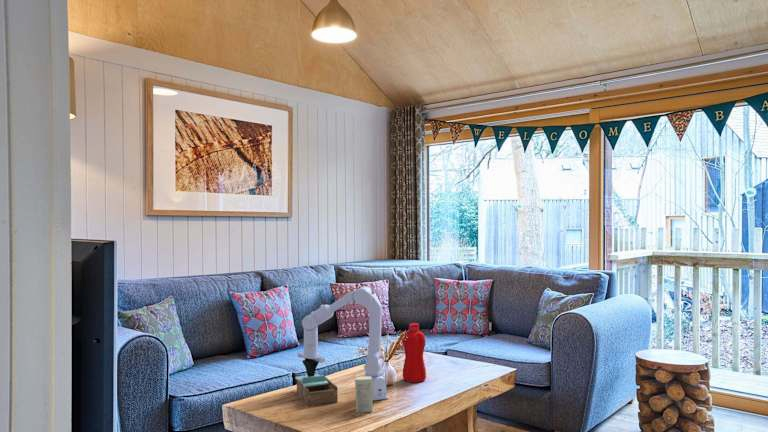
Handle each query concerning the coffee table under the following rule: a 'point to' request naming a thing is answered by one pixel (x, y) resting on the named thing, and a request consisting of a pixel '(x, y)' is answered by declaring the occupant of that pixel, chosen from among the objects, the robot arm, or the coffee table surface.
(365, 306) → the robot arm
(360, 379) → the skincare box
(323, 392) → the box
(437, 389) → the coffee table surface
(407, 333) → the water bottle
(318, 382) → the lid
